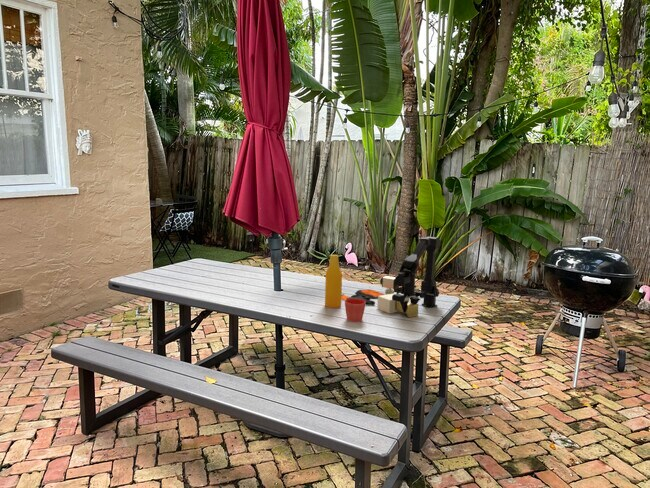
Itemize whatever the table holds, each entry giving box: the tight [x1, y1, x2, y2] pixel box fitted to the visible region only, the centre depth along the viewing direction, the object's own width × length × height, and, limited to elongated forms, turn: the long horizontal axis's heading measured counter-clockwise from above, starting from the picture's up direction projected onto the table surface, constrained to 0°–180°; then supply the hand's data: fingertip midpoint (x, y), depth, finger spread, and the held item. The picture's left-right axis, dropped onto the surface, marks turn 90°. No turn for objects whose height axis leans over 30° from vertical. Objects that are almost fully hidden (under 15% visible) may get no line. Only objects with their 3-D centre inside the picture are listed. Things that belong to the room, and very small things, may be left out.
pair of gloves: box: [341, 289, 386, 306], centre depth 279 cm, size 27×24×3 cm
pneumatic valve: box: [379, 275, 400, 295], centre depth 289 cm, size 6×12×12 cm, turn 51°
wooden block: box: [395, 301, 419, 318], centre depth 252 cm, size 6×17×6 cm, turn 33°
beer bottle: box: [324, 254, 343, 309], centre depth 260 cm, size 9×9×29 cm
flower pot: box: [344, 299, 367, 323], centre depth 238 cm, size 11×11×10 cm
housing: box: [377, 292, 410, 314], centre depth 258 cm, size 14×10×7 cm
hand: (407, 311), depth 248 cm, fingers closed on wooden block, 5 cm apart
